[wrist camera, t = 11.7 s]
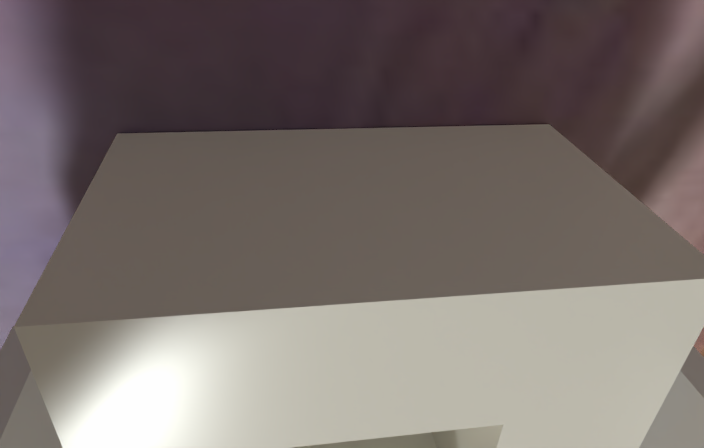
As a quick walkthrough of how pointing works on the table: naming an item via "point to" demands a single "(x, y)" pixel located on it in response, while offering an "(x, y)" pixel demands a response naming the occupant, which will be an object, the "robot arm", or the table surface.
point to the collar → (360, 294)
